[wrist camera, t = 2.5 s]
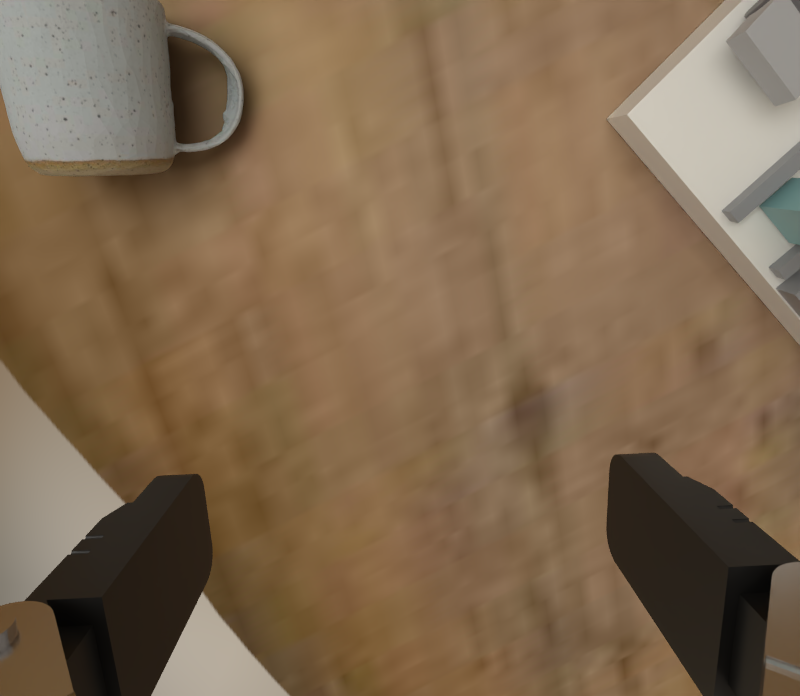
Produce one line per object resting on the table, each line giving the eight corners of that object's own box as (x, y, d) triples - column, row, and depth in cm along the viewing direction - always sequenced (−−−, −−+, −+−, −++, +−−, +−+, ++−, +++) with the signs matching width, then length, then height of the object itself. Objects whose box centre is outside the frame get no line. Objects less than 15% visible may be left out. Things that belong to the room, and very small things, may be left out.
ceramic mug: (74, 174, 32) (-21, 178, 24) (42, 13, 29) (-76, -36, 22) (256, 171, 32) (215, 174, 24) (241, 10, 29) (190, -40, 22)
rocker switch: (784, -29, 26) (821, -52, 24) (830, 36, 27) (870, 20, 25) (713, 47, 26) (745, 31, 24) (761, 110, 27) (795, 99, 25)
